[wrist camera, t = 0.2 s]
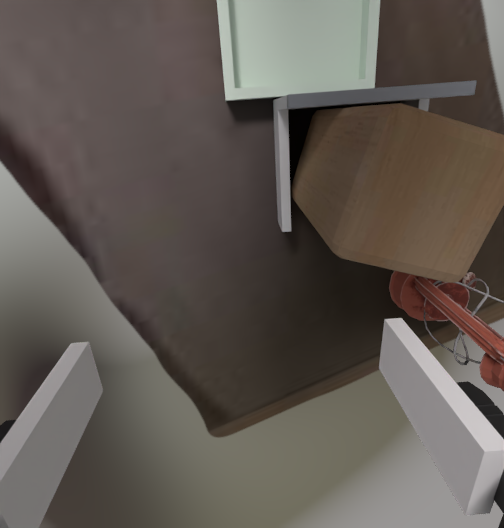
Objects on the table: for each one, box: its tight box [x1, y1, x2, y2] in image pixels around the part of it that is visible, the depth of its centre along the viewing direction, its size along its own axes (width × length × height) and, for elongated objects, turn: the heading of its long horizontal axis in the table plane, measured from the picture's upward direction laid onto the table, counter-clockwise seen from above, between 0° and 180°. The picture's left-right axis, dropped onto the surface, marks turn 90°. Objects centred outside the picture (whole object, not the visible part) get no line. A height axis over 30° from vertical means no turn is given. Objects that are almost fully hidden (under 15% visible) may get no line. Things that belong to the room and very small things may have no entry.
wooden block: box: [290, 103, 504, 283], centre depth 31 cm, size 10×10×20 cm
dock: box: [273, 81, 477, 232], centre depth 35 cm, size 14×15×11 cm
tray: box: [217, 0, 380, 101], centre depth 33 cm, size 15×15×2 cm
